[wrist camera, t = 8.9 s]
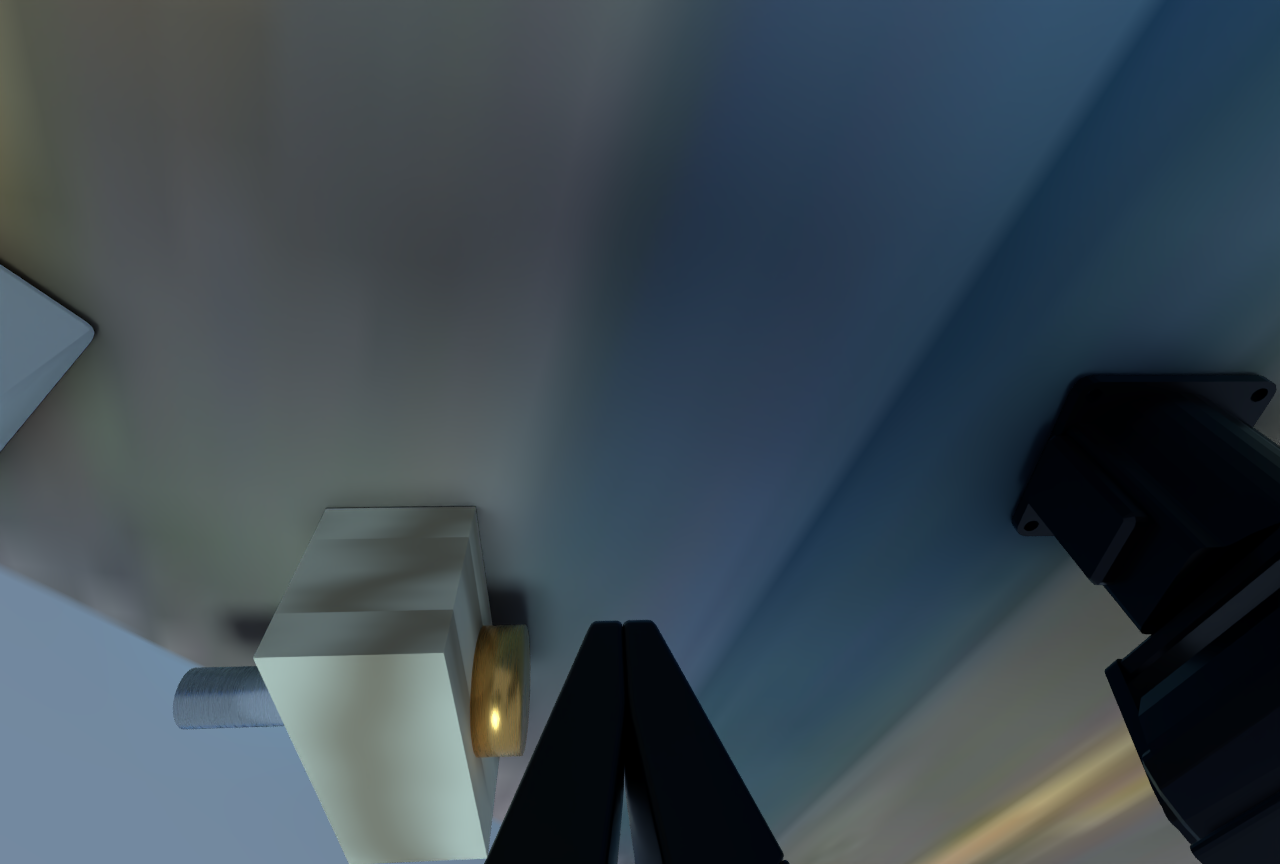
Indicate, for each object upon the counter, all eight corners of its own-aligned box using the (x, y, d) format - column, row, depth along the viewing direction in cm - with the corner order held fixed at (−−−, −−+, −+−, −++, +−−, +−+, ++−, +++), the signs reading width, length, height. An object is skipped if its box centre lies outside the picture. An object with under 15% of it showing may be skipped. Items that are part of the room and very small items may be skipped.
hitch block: (475, 506, 23) (443, 652, 18) (504, 711, 30) (487, 858, 25) (325, 508, 23) (252, 657, 18) (389, 715, 30) (349, 864, 25)
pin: (525, 599, 25) (513, 707, 21) (532, 673, 27) (523, 781, 24) (199, 606, 24) (130, 719, 21) (237, 681, 27) (181, 794, 23)
